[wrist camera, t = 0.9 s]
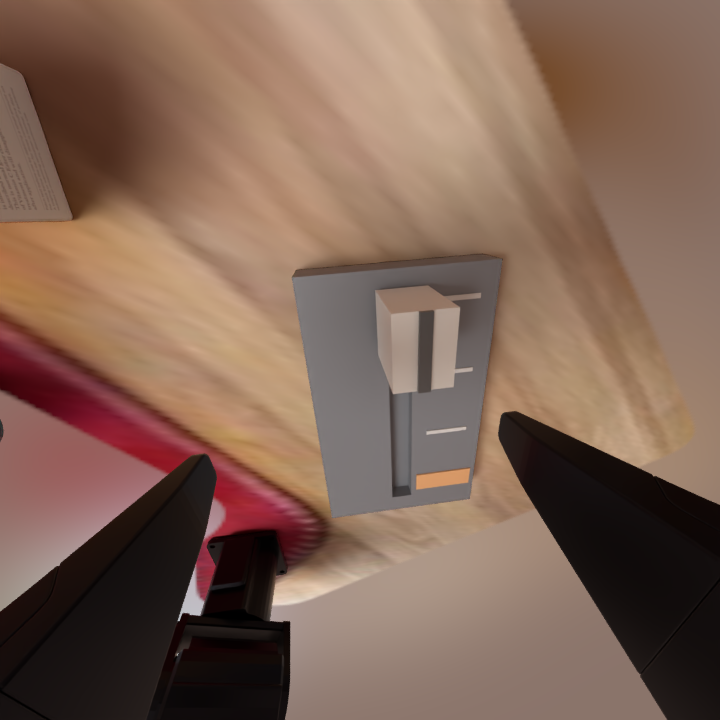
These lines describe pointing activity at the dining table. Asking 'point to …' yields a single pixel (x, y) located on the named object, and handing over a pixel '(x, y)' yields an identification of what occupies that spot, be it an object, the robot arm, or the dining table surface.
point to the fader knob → (417, 338)
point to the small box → (26, 159)
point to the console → (372, 390)
